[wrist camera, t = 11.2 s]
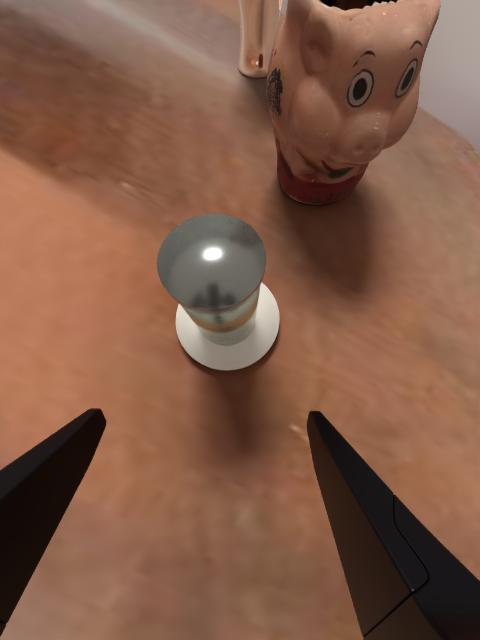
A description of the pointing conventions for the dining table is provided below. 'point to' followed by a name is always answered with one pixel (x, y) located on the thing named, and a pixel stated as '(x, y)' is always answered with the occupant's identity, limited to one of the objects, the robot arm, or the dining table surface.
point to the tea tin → (215, 274)
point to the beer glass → (257, 35)
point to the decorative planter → (343, 88)
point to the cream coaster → (238, 353)
